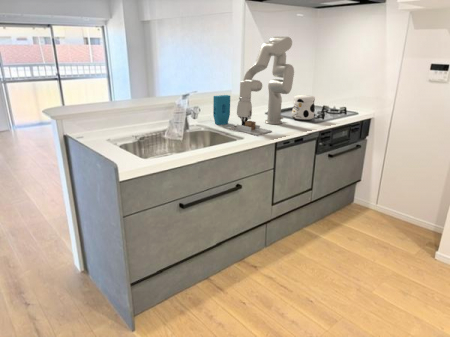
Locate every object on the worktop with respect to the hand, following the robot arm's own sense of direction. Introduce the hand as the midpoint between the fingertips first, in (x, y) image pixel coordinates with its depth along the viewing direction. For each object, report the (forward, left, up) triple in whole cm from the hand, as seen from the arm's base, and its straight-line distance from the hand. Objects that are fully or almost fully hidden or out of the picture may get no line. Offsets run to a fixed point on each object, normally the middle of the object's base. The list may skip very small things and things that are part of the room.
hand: (243, 126), depth 228 cm
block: (+1, -21, -2) cm, 21 cm away
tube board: (0, +6, -2) cm, 6 cm away
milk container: (-60, +8, -2) cm, 61 cm away
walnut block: (0, +6, -1) cm, 6 cm away
